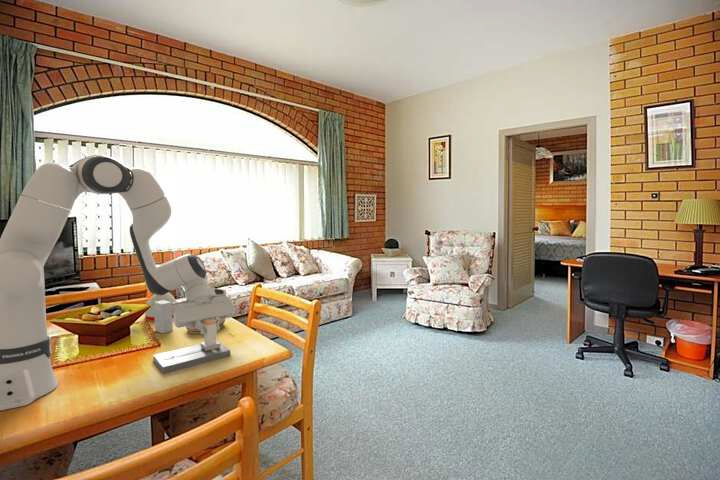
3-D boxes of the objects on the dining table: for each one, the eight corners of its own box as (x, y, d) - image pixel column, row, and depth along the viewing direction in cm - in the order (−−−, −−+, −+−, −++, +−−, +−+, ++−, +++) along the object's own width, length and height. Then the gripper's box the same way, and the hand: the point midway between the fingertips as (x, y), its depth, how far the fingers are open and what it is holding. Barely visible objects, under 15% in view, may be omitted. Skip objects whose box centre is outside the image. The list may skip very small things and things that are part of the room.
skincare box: (173, 330, 151) (172, 302, 150) (162, 333, 147) (161, 304, 146) (164, 328, 154) (163, 299, 153) (154, 330, 150) (153, 301, 149)
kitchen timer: (137, 319, 164) (136, 286, 163) (159, 310, 178) (158, 280, 177) (165, 321, 162) (164, 288, 161) (185, 312, 176) (184, 281, 174)
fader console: (163, 373, 113) (163, 366, 113) (153, 360, 122) (153, 354, 122) (230, 355, 127) (230, 349, 127) (217, 345, 136) (216, 339, 136)
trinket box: (229, 323, 161) (229, 305, 160) (212, 335, 146) (212, 316, 146) (200, 322, 163) (199, 304, 162) (180, 333, 148) (179, 314, 147)
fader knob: (205, 350, 125) (205, 323, 124) (200, 346, 129) (199, 319, 128) (220, 347, 128) (220, 320, 127) (215, 343, 132) (214, 317, 131)
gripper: (170, 298, 125) (180, 334, 119) (229, 289, 139) (241, 321, 132) (167, 308, 129) (176, 343, 122) (225, 298, 142) (236, 330, 136)
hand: (211, 331), depth 127 cm, fingers closed on fader knob, 3 cm apart
